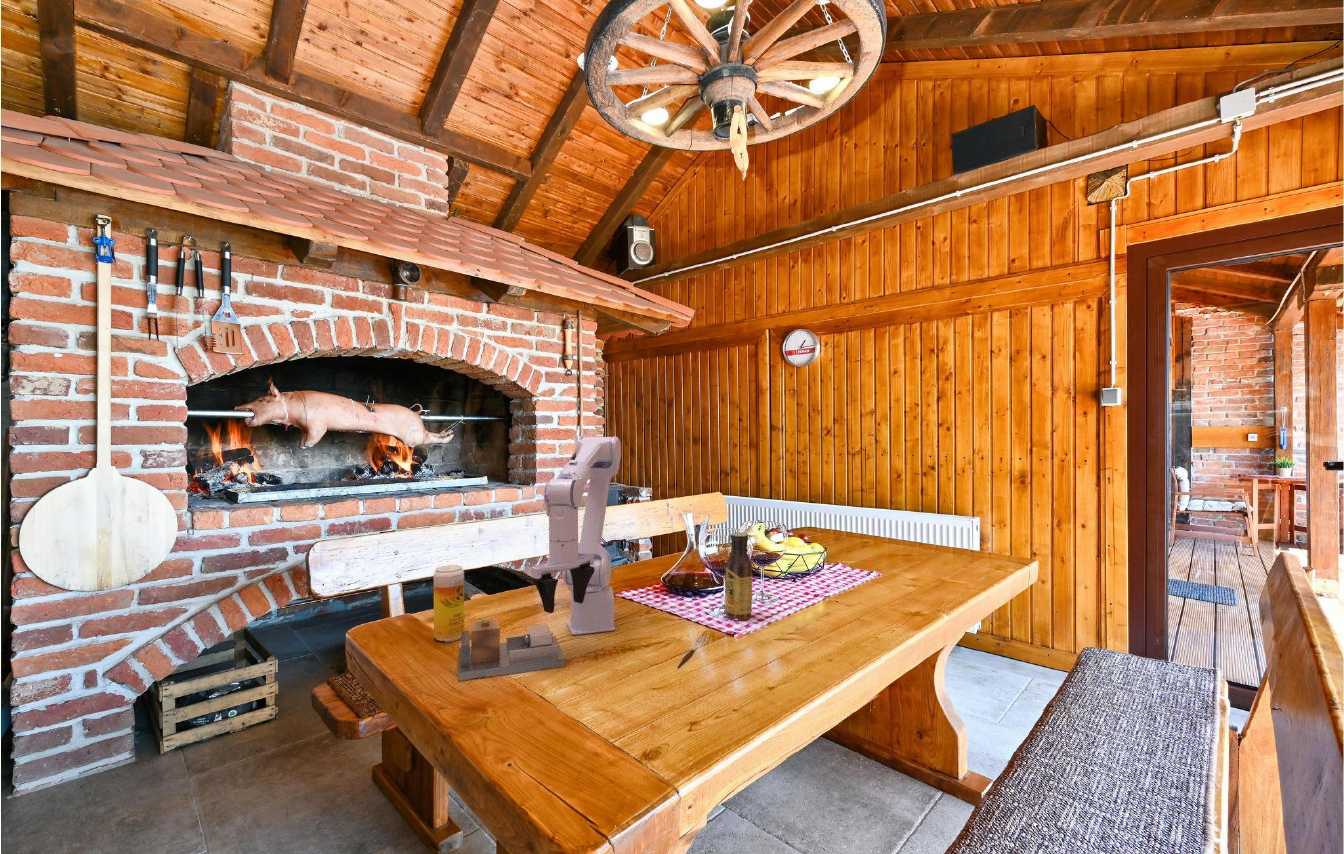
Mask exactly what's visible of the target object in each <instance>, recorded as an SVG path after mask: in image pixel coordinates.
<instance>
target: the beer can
mask: <svg viewBox="0 0 1344 854" xmlns="http://www.w3.org/2000/svg"><path fill="white" fill-rule="evenodd" d="M461 631H465V571H464V570H463V566H462V565H458V564H447V565H442V566H438V567H436V568H435V571H434V572H433V637H434V638H435V640H439V641H445V642H444V643H451V642H455V641H458V640H461ZM439 641H438V642H439Z"/></svg>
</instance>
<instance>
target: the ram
mask: <svg viewBox="0 0 1344 854" xmlns="http://www.w3.org/2000/svg"><path fill="white" fill-rule="evenodd" d="M551 631H552V630H551V629H550V626H549V624H548V623H546V624H538V625H529V626H527V634H522V635H523V643H524V648H525V647H529V648H536V647H544V646H552V633H553V632H552V633H551Z"/></svg>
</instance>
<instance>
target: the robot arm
mask: <svg viewBox="0 0 1344 854" xmlns="http://www.w3.org/2000/svg"><path fill="white" fill-rule="evenodd" d="M621 445H622V444H621V441H620V438H618V436H615V435H613V436H583V435H582V436H581V435H580V436H579V437H578V438H577V440H576V443H575V458H574V459H570V460H569V461H568V462H567V463H566V464H565V466H564V467H563V468H562V470H561V471H560V473H559V474H558V475H557V477H556V478H551V479H550V480H548V481H547V482H546V483H545V486H544V490H543V501H544V505H545V514H546V516H547V517H548V554H549V555H548V556H549V557H548V559H547V561H544V562H542V563H541V564H538V565H535V566H532V567H530V577H531V581H532V583H533V584H534V585H535V588H536V589H537V591H538V594H539V597H540V600H541V603H542V607H543V611H544V612H545V613H548V614H553V613H554V611H555V597H556V590H557V585H558V582H559V579H557V578H554V577H553V575H554V574H558V573H561V575H562V578H561V579H562V581H563V584H564V585H565V586H566V587H567V590H568V591H570V620H568V621H566V625H567V628H568V630H569V632H570V633H571V635H572V636H578V635H585V634H586V635H587V634H593V633H594V634H595V633H601V632H602V633H603V632H610V631H616V627H615V596H614V591H613V590H614V589H613V588H612V586H611V585H610V586H609V584H610V582H611V576H612V566H611V565H612V558H611V554H610V552H608V550H606V548H605V547H603V546H602V539H603V533H604V526H605V518H606V511H607V505H608V497H609V490H610V484H611V482H612V478H613V477H614V476H616V475H618V473H619V469H620V463H621V457H622V446H621ZM588 481H589V482H588ZM587 483H588V490H587V496H586V500H585V501H586V503H585V509H584V514H583V521H582V527H581V531H580V533H581V534H580V540H579V507H580V506H581V505H582V502H583V496H584V491H585V490H584V488H585V486H586V484H587Z"/></svg>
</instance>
